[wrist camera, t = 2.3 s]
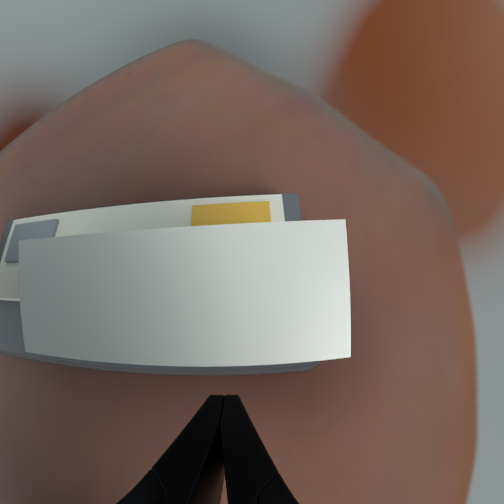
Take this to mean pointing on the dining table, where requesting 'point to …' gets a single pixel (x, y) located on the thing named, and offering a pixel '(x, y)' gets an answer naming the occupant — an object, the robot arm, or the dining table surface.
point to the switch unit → (138, 218)
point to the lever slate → (9, 284)
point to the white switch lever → (190, 295)
